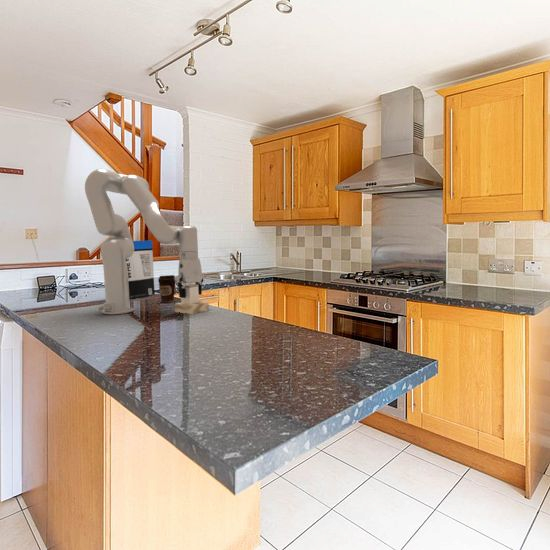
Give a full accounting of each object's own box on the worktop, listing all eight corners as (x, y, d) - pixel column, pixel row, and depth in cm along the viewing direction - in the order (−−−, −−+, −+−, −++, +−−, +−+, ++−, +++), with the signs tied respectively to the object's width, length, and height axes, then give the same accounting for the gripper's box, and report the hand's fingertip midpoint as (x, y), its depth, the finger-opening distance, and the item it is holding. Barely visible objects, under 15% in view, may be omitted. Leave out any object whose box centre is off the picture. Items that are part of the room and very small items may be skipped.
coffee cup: (172, 303, 197) (170, 276, 196) (155, 303, 199) (154, 276, 198) (179, 300, 206) (178, 274, 204) (164, 300, 207) (163, 274, 206)
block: (191, 315, 169) (190, 305, 169) (175, 313, 175) (174, 303, 175) (208, 311, 177) (208, 302, 177) (193, 309, 183) (192, 300, 183)
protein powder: (160, 294, 229) (157, 240, 226) (123, 301, 208) (120, 241, 205) (148, 293, 234) (146, 240, 231) (111, 299, 213) (108, 241, 210)
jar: (190, 304, 172) (189, 285, 171) (181, 303, 175) (180, 285, 174) (199, 302, 176) (198, 284, 175) (190, 301, 179) (189, 283, 178)
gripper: (181, 257, 164) (182, 299, 166) (209, 254, 179) (210, 293, 181) (167, 256, 168) (169, 298, 170) (196, 254, 183) (197, 292, 185)
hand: (190, 296), depth 175 cm, fingers open, 9 cm apart
